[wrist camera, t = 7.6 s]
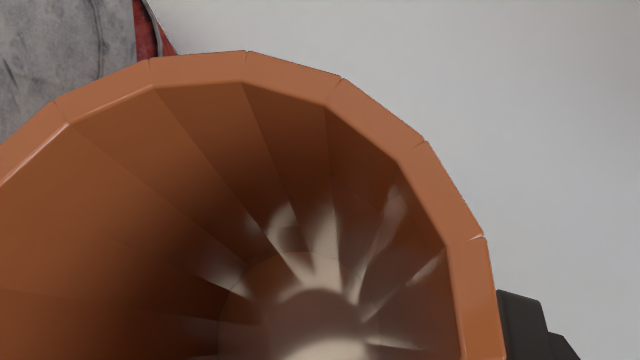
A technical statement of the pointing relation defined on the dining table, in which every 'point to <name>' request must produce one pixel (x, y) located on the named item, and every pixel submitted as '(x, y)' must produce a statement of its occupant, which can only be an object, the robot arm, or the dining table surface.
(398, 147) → the tumbler
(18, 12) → the canned food
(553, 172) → the dining table surface
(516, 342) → the robot arm
